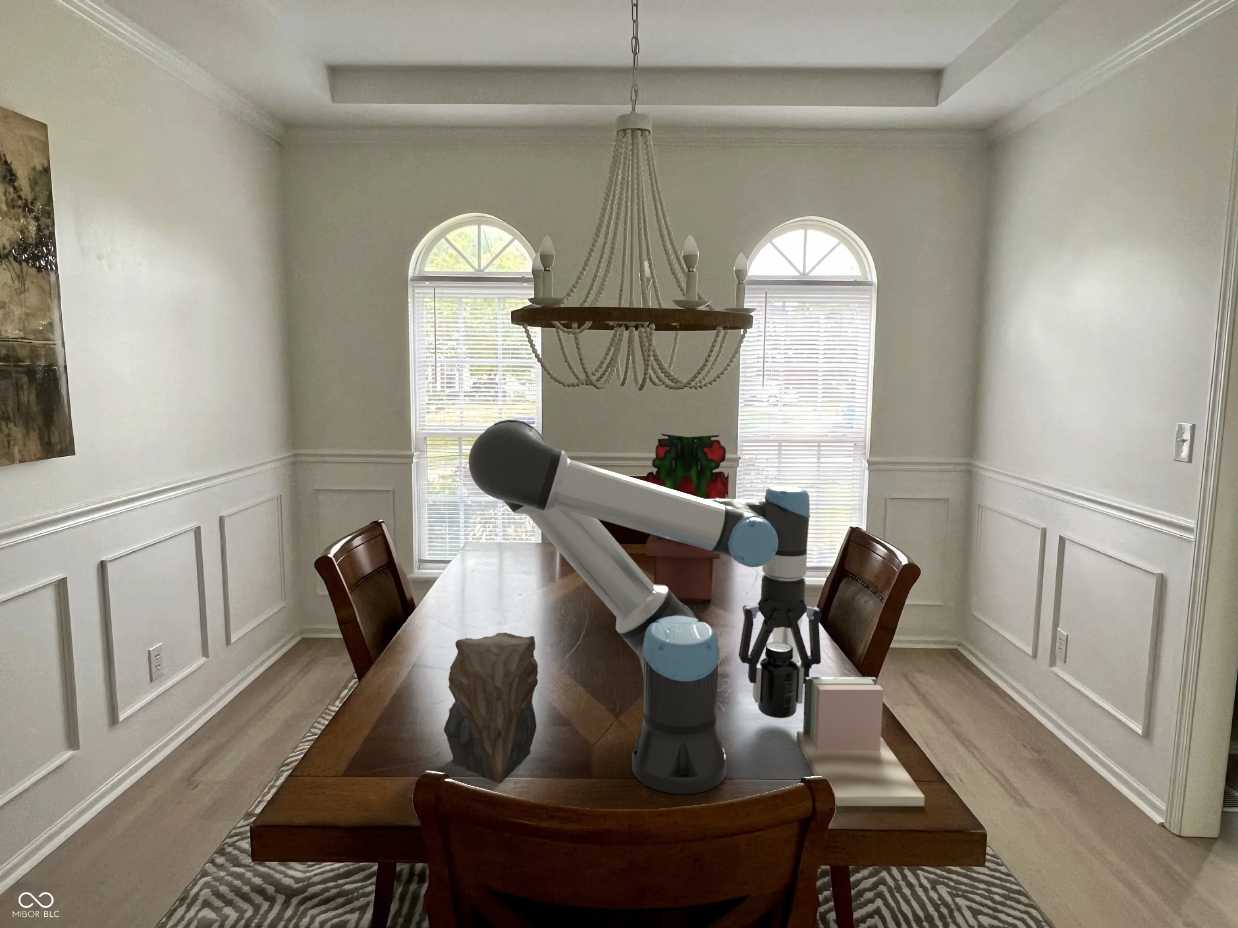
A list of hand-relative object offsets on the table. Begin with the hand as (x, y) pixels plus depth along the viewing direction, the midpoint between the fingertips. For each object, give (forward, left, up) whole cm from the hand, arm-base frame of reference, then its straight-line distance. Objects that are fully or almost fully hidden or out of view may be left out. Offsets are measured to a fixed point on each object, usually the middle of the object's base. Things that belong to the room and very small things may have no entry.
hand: (777, 699), depth 135 cm
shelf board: (-5, -18, -5) cm, 19 cm away
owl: (-44, +26, -5) cm, 51 cm away
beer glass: (+28, +16, -5) cm, 33 cm away
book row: (0, -13, -4) cm, 13 cm away
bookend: (+3, -11, -4) cm, 12 cm away
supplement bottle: (0, 0, -2) cm, 2 cm away
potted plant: (+48, +61, -5) cm, 78 cm away
